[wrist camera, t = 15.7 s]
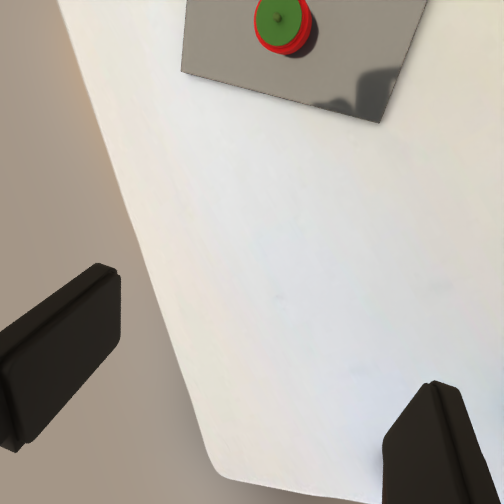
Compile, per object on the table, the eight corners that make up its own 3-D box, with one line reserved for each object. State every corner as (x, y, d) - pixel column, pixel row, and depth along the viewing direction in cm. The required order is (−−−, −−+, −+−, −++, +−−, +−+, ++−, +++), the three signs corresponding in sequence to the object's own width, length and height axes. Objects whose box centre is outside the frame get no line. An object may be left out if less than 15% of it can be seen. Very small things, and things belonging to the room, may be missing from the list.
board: (435, -24, 26) (438, -28, 25) (378, 122, 31) (379, 123, 30) (199, -72, 28) (193, -77, 27) (185, 71, 34) (180, 71, 33)
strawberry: (320, 4, 27) (313, -16, 22) (306, 61, 29) (296, 57, 24) (273, -7, 28) (253, -28, 22) (261, 50, 30) (241, 43, 24)
